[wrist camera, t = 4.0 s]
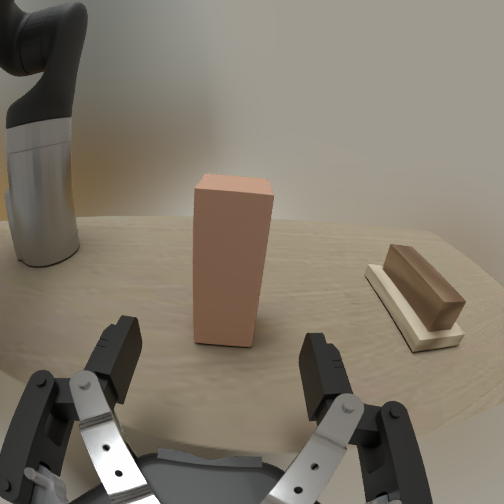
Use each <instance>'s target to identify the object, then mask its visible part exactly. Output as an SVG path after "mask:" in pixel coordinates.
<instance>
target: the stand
mask: <svg viewBox="0 0 504 504" xmlns="http://www.w3.org/2000/svg"><path fill="white" fill-rule="evenodd" d="M365 276H366V277H367V279H368V280H369V282H370V283H371V285H372V286H373V288H374V289H375V291H376V292H377V294H378V295H379V297H380V298H381V300H382V301H383V303H384V305H385V306H386V308H387V309H388V311H389V313H390V314H391V316H392V317H393V319H394V321H395V322H396V324H397V326H398V327H399V329H400V331H401V332H402V334H403V336H404V337H405V339H406V341H407V342H408V344H409V346H410V348H411V349H412V351H413V352H415V351H423V350H430V349H436V348H443V347H449V346H454V345H459V343H460V341H461V340H462V338H463V337H464V335H465V333H464V332H463V331H462V329H461V328H460V327H459V326H458V324H457V323H456V322H455V321H456V319H457V318H458V316H459V314H460V312H461V310H462V308H463V306H464V305H465V303H466V301H465V300H464V299H463V298H462V296H461V295H460V294H459V293H458V292H457V291H456V290H455V289H454V288H453V287H452V286H451V285H450V284H449V283H448V282H447V281H446V280H445V278H444V277H443V276H442V275H441V274H440V273H439V272H438V271H437V270H436V269H435V268H434V267H433V266H432V265H431V264H430V263H429V262H427V261H426V260H425V259H424V258H423V257H422V256H421V255H420V254H419V253H418V252H417V251H416V250H415V249H414V248H413V247H410V246H402V245H394V244H390V248H389V251H388V254H387V257H386V260H385V263H384V265H372V264H368V266H367V269H366V272H365Z"/></svg>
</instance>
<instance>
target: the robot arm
mask: <svg viewBox="0 0 504 504" xmlns="http://www.w3.org/2000/svg"><path fill="white" fill-rule="evenodd" d="M87 19H88V15H87V10H86V8H85V6H84V5H83V4H82V3H80V2H71V3H66V4H62V5H58V6H54V7H50V8H46V9H43V10H40V11H37V12H33V13H26V12H23V11H22V10H21V9H20V8H19V7H17V5H16V4H15V2H14V0H0V67H1V68H2V69H3V70H5V71H6V72H7V73H9V74H11V75H14V76H18V77H20V76H28V75H32V74H36V73H40V72H44V73H43V76H42V77H41V79H40V80H39V81H38V82H37V84H36V85H35V86H34V87H33V88H32V89H31V90H30V91H28V92H27V93H26V94H25V95H24V96H22V97H21V98H19V99H18V100H17V101H15V102H14V103H13V104H12V105H11V106H10V107H9V109H8V111H7V117H6V153H7V154H6V156H7V172H8V183H9V189H7V190H6V191H5V202H6V209H7V215H8V220H9V226H10V230H11V235H12V240H13V244H14V248H15V252H16V256H17V259H18V260H23V261H24V262H25V263H26V264H28V265H31V266H46V265H51V264H54V263H57V262H60V261H62V260H64V259H66V258H68V257H69V256H71V255H72V254H73V253H74V252H75V251H76V250H77V249H78V247H79V238H78V229H77V224H76V216H75V207H74V198H73V185H72V169H71V168H72V167H71V116H72V104H73V98H74V93H75V85H76V77H77V71H78V66H79V61H80V57H81V53H82V49H83V44H84V40H85V35H86V29H87V21H88V20H87ZM141 350H142V338H141V333H140V328H139V323H138V319H137V318H136V317H130V316H124V315H122V316H121V317H120V319H119V320H118V322H117V324H116V325H114V324H111V325H110V326H108V327H107V328H106V329H105V330H104V331H103V333H102V335H101V337H100V340H99V341H98V342H97V344H96V346H95V348H94V350H93V352H92V354H91V356H90V358H89V360H88V362H87V364H86V367H85V368H84V370H83V371H79V372H77V373H75V374H74V375H73V376H72V377H71V378H54V377H53V375H52V374H51V373H50V372H49V371H46V370H39V371H37V372H35V373H34V374H33V375H32V376H31V377H30V379H29V381H28V383H27V386H26V388H25V390H24V392H23V395H22V397H21V399H20V402H19V404H18V406H17V409H16V411H15V413H14V416H13V418H12V421H11V423H10V426H9V429H8V432H7V434H6V437H5V441H4V443H3V446H2V450H1V453H0V496H1V497H2V498H3V499H5V500H7V501H9V502H11V503H13V504H320V503H319V502H318V501H317V498H318V497H319V495H320V494H321V492H322V491H323V489H324V488H325V486H326V485H327V483H328V482H329V480H330V478H331V477H332V475H333V473H334V472H335V470H336V469H337V467H338V465H339V463H340V461H341V460H342V458H343V456H344V455H345V453H346V450H347V448H346V446H347V444H352V445H357V448H358V454H359V459H360V465H361V472H362V478H363V484H364V491H365V498H366V503H365V504H433V502H432V497H431V493H430V488H429V484H428V480H427V476H426V472H425V468H424V464H423V460H422V457H421V453H420V450H419V446H418V443H417V440H416V436H415V433H414V430H413V427H412V424H411V421H410V418H409V415H408V412H407V409H406V408H405V407H404V405H402V404H401V403H399V402H396V401H389V402H387V403H385V404H384V405H383V406H382V407H379V406H373V405H367V404H364V403H363V402H362V400H361V399H360V398H359V397H357V396H356V395H354V394H353V392H352V389H351V386H350V383H349V380H348V376H347V373H346V370H345V368H344V364H343V361H342V358H341V355H340V352H339V351H338V349H337V348H336V347H335V346H334V345H333V344H327V343H326V340H325V336H324V334H323V333H307V334H306V336H305V339H304V342H303V345H302V348H301V351H300V355H299V368H300V374H301V379H302V385H303V390H304V396H305V401H306V407H307V412H308V418H309V421H317V428H316V429H315V431H314V432H313V434H312V435H311V437H310V438H309V440H308V441H307V442H306V444H305V445H304V447H303V448H302V450H301V451H300V452H299V454H298V455H297V456H296V458H295V459H294V460H293V462H292V463H291V464H290V466H289V467H288V468H287V469H286V471H285V472H284V471H283V470H281V469H280V468H278V467H276V466H273V465H271V464H268V463H264V462H262V457H243V456H235V457H229V458H223V459H215V460H207V459H204V458H201V457H198V456H195V455H192V454H189V453H186V452H184V451H177V450H171V449H165V448H159V450H158V453H150V454H146V455H142V456H140V457H138V455H137V454H136V452H135V450H134V448H133V447H132V445H131V444H130V442H129V440H128V438H127V436H126V434H125V432H124V430H123V428H122V426H121V424H120V422H119V420H118V417H117V415H116V413H115V411H114V407H115V404H116V403H119V404H124V401H125V398H126V394H127V391H128V388H129V385H130V382H131V379H132V376H133V373H134V370H135V367H136V365H137V362H138V359H139V356H140V353H141ZM74 421H80V422H81V424H80V425H79V428H80V431H81V434H82V437H83V440H84V442H85V445H86V447H87V450H88V452H89V455H90V457H91V459H92V462H93V464H94V466H95V468H96V470H97V473H98V474H99V477H100V479H101V481H102V482H101V483H100V484H98V485H97V486H95V487H94V488H92V489H91V490H89V491H88V492H86V493H85V494H83V495H81V496H80V497H78V498H77V499H75V500H73V501H72V502H70V503H69V501H68V500H67V496H66V486H65V484H64V482H63V480H62V479H61V478H60V474H61V469H62V465H63V460H64V456H65V452H66V448H67V445H68V441H69V437H70V434H71V430H72V427H73V423H74Z"/></svg>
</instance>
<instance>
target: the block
mask: <svg viewBox="0 0 504 504" xmlns="http://www.w3.org/2000/svg"><path fill="white" fill-rule="evenodd" d="M273 200H274V194H273V191H272V188H271V186H270V184H269V181H268V179H261V178H251V177H240V176H229V175H217V174H216V175H215V174H205V175H204V177H203V178H202V179H201V181H200V182H199V183H198V185H197V186H196V187H195V194H194V221H193V317H194V342H196V343H206V344H217V345H229V346H243V347H252V341H253V335H254V328H255V322H256V315H257V309H258V302H259V296H260V289H261V283H262V276H263V269H264V263H265V256H266V249H267V242H268V235H269V228H270V221H271V214H272V207H273Z"/></svg>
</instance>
